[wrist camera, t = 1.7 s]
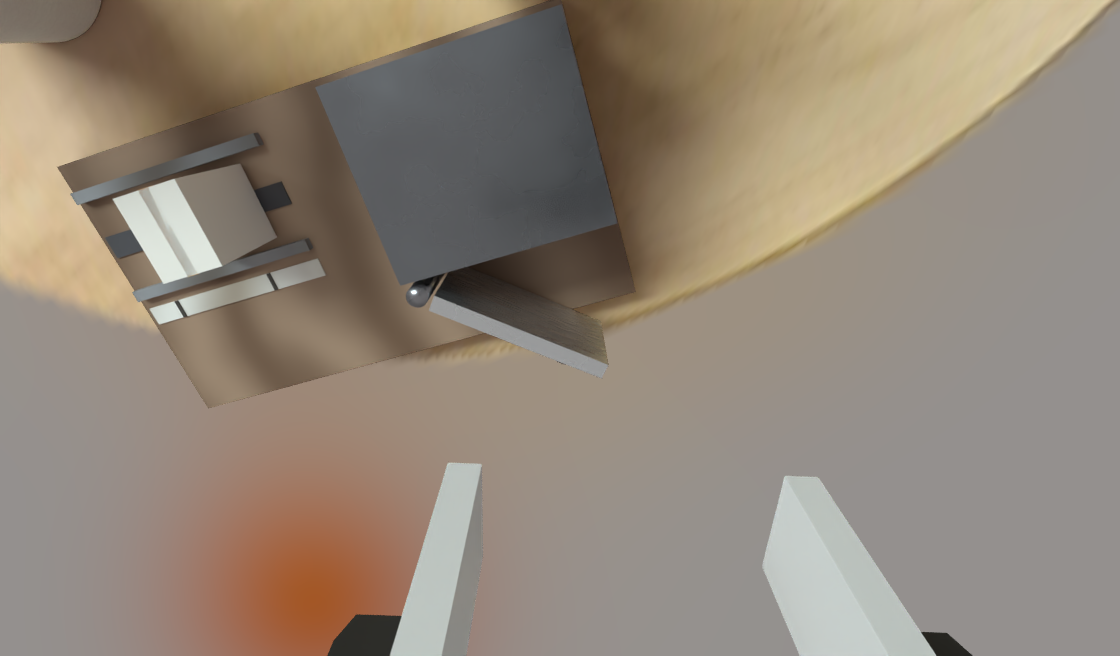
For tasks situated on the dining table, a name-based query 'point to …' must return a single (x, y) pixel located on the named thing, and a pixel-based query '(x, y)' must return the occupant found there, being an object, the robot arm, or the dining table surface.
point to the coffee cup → (45, 20)
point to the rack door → (515, 317)
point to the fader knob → (196, 221)
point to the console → (305, 249)
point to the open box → (473, 147)
